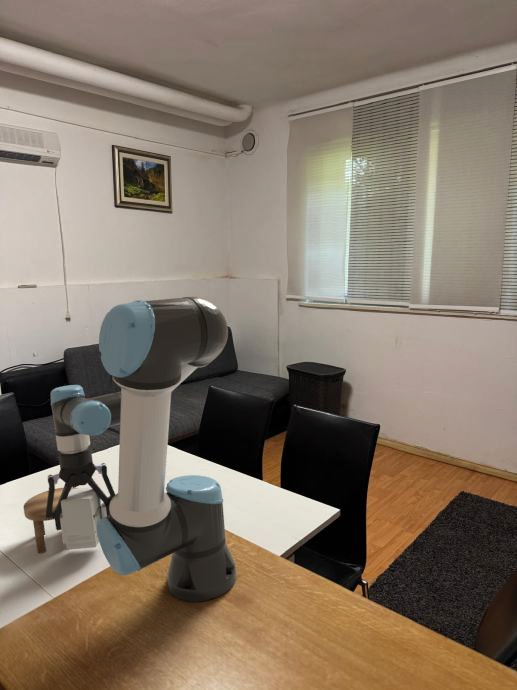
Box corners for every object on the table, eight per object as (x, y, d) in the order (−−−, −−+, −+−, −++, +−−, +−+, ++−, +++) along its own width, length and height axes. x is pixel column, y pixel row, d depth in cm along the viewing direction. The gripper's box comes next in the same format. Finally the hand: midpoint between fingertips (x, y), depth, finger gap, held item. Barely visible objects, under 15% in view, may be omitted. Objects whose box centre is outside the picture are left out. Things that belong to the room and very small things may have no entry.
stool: (92, 543, 124) (87, 503, 123) (28, 560, 118) (22, 519, 117) (86, 518, 138) (82, 482, 136) (29, 533, 132) (24, 495, 130)
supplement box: (96, 547, 116) (89, 498, 114) (66, 550, 116) (59, 501, 115) (106, 532, 123) (100, 485, 122) (77, 534, 123) (71, 488, 122)
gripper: (118, 435, 125) (127, 517, 127) (25, 454, 116) (38, 541, 118) (122, 443, 118) (133, 528, 121) (24, 463, 109) (38, 555, 112)
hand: (86, 534), depth 120 cm, fingers closed on supplement box, 9 cm apart
